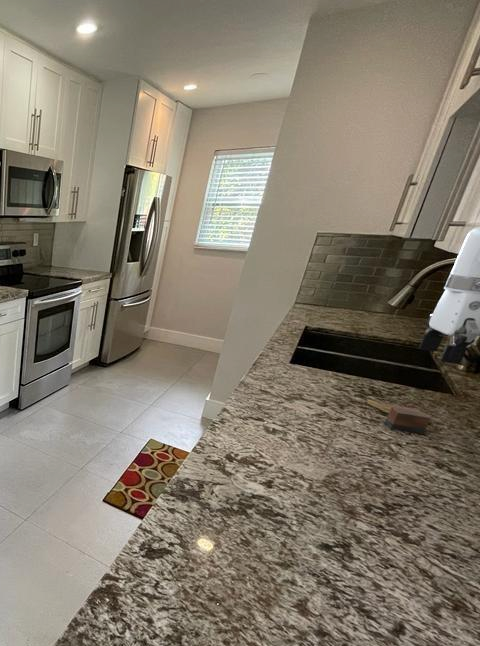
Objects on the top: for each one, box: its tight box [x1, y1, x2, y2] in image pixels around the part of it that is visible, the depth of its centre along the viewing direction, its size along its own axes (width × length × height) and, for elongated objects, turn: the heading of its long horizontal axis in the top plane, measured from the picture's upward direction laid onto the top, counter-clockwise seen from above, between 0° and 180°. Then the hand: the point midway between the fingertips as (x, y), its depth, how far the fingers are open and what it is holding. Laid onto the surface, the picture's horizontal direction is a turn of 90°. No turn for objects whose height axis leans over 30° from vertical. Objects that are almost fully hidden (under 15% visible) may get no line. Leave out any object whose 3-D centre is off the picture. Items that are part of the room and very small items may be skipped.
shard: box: [366, 398, 431, 418], centre depth 110 cm, size 11×8×2 cm
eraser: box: [384, 407, 431, 435], centre depth 101 cm, size 6×4×4 cm, turn 65°
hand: (437, 356), depth 98 cm, fingers open, 9 cm apart
